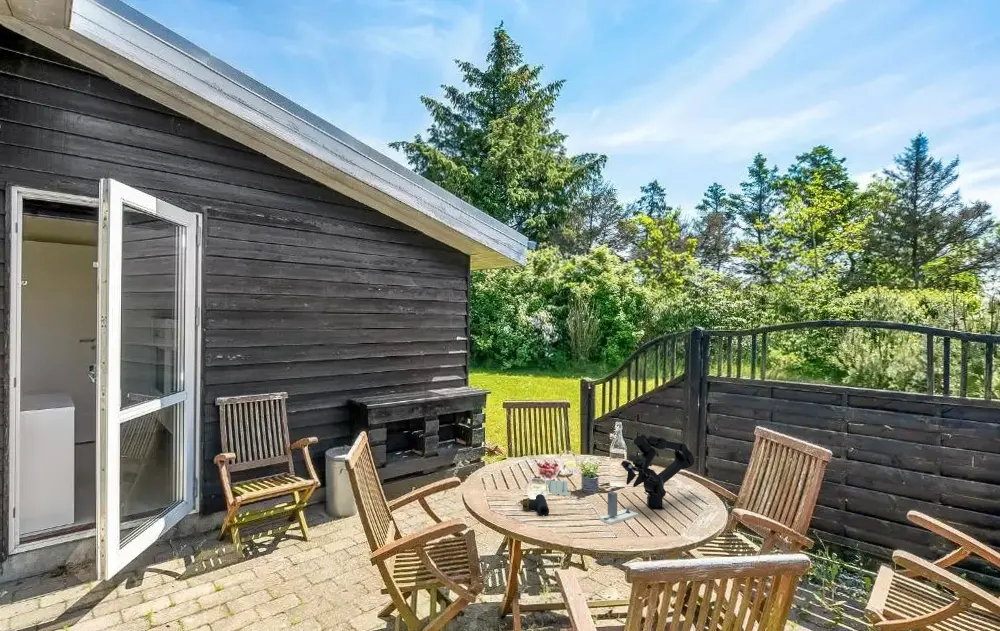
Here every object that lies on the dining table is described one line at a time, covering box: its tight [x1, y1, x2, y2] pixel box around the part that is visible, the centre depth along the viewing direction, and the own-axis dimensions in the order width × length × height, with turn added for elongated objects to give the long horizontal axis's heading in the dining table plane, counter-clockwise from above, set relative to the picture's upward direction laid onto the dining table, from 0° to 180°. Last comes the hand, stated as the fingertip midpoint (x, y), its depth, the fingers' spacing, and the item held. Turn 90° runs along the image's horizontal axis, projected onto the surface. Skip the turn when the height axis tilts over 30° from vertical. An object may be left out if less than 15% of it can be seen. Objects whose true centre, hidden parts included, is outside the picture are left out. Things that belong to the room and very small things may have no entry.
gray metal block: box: [607, 491, 618, 517], centre depth 222 cm, size 3×3×11 cm
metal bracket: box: [546, 479, 572, 496], centre depth 258 cm, size 14×6×15 cm
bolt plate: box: [598, 506, 639, 526], centre depth 224 cm, size 18×7×4 cm, turn 122°
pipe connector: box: [522, 493, 550, 517], centre depth 233 cm, size 12×5×15 cm
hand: (630, 485), depth 228 cm, fingers open, 4 cm apart
